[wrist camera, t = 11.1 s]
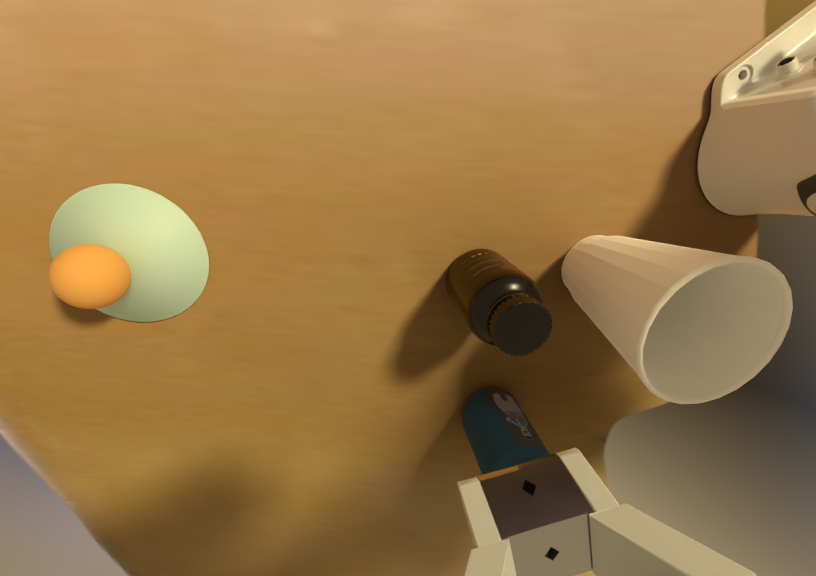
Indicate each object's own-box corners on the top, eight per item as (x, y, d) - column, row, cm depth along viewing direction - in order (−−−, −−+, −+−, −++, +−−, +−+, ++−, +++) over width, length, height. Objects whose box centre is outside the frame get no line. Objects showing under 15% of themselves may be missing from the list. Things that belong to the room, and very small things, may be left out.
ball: (105, 222, 34) (31, 245, 30) (152, 268, 35) (87, 297, 30) (95, 259, 38) (28, 285, 33) (138, 300, 38) (78, 332, 33)
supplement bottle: (511, 299, 43) (566, 357, 32) (450, 314, 43) (485, 378, 32) (504, 239, 41) (563, 280, 30) (440, 254, 40) (474, 302, 29)
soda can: (466, 437, 50) (499, 526, 39) (453, 394, 47) (485, 475, 36) (519, 420, 50) (567, 503, 39) (509, 376, 47) (558, 451, 36)
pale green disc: (97, 150, 33) (96, 150, 33) (237, 247, 37) (237, 247, 37) (22, 266, 35) (21, 267, 35) (162, 344, 40) (161, 345, 40)
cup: (619, 187, 40) (774, 221, 26) (657, 276, 45) (808, 347, 30) (520, 255, 42) (613, 324, 27) (566, 334, 46) (669, 431, 31)
